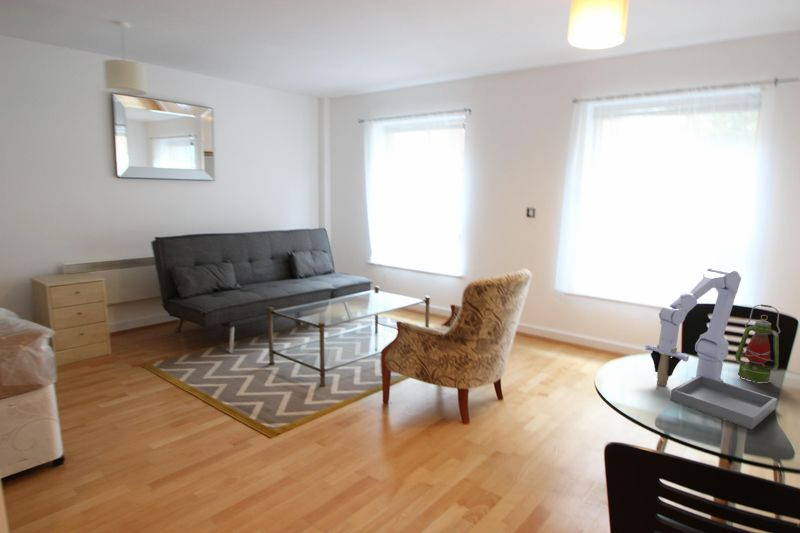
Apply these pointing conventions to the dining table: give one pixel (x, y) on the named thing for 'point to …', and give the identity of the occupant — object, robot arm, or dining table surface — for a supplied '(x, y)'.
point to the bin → (724, 401)
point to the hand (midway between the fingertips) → (663, 373)
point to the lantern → (758, 350)
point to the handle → (664, 368)
